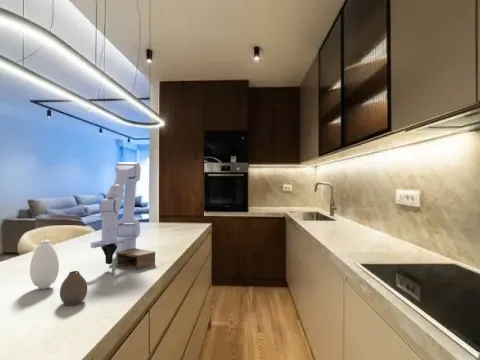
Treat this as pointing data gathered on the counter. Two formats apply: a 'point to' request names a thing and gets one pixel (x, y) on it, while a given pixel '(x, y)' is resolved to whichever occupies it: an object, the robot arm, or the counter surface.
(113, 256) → the door
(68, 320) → the counter surface
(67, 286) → the vase
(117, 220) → the robot arm
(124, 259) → the brown wooden box
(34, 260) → the white tall ovoid
